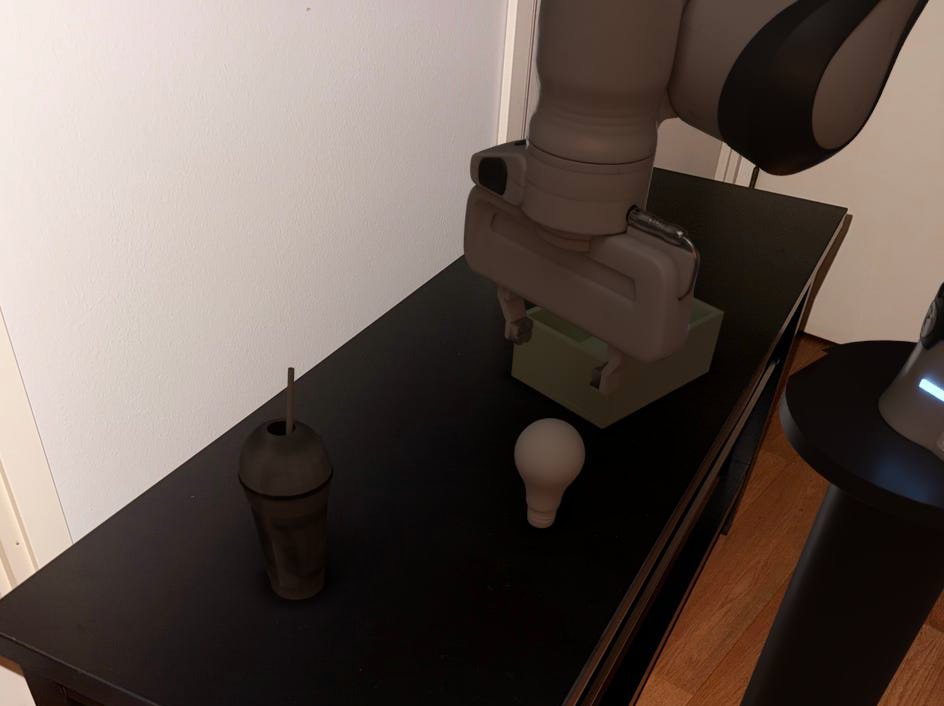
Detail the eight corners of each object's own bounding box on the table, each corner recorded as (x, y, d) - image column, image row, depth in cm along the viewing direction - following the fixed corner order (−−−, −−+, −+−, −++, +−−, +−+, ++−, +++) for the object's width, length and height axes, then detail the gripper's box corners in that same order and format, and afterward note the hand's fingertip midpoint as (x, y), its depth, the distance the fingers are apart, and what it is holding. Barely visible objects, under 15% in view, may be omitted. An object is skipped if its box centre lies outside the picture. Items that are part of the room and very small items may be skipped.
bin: (618, 325, 115) (629, 266, 110) (708, 371, 108) (724, 311, 103) (510, 375, 106) (516, 314, 100) (602, 429, 99) (613, 366, 94)
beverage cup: (242, 568, 81) (207, 358, 67) (320, 544, 84) (303, 337, 70) (273, 622, 77) (243, 410, 63) (354, 594, 80) (344, 385, 65)
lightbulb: (581, 516, 89) (599, 416, 81) (559, 555, 85) (575, 452, 77) (521, 498, 90) (533, 397, 82) (496, 534, 86) (506, 432, 78)
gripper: (733, 226, 62) (685, 407, 72) (515, 133, 72) (500, 304, 82) (674, 250, 59) (632, 436, 69) (454, 149, 69) (446, 325, 79)
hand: (559, 364), depth 76 cm, fingers open, 8 cm apart
